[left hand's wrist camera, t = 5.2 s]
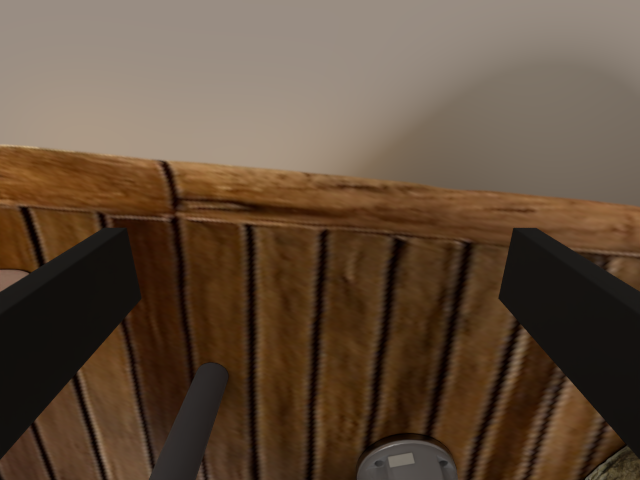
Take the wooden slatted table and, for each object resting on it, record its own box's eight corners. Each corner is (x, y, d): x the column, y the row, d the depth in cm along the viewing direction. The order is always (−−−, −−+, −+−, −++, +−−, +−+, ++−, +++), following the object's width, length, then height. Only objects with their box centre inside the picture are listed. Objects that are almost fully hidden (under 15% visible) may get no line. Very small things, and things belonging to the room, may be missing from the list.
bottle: (190, 375, 50) (121, 527, 32) (209, 357, 49) (147, 503, 31) (216, 392, 51) (162, 547, 34) (234, 374, 50) (188, 525, 32)
